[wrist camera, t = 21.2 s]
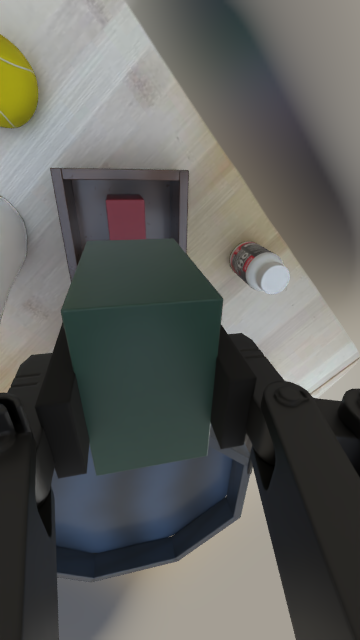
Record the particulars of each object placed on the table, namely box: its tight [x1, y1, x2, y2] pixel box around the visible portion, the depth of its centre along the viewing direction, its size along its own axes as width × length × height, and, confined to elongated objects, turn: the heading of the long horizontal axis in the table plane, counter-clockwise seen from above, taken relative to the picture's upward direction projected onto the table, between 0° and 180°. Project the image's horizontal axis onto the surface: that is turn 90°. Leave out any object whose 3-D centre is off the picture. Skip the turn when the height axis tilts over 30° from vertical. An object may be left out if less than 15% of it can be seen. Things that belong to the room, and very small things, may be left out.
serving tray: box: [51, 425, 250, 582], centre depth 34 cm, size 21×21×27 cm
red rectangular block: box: [106, 194, 146, 240], centre depth 33 cm, size 4×6×7 cm, turn 179°
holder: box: [50, 168, 189, 282], centre depth 34 cm, size 14×12×7 cm
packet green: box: [61, 239, 223, 476], centre depth 11 cm, size 4×6×7 cm, turn 179°
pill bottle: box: [230, 241, 290, 294], centre depth 39 cm, size 5×5×10 cm
